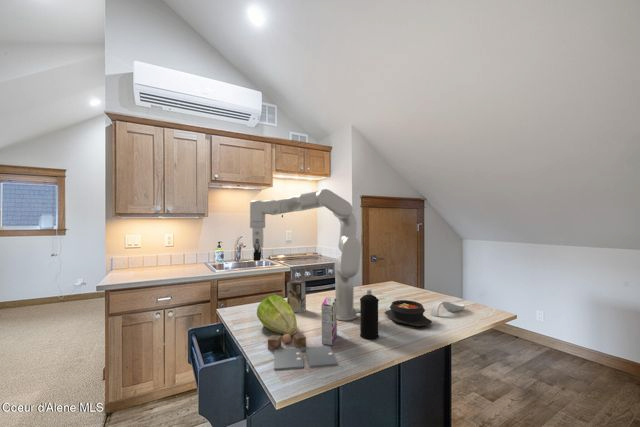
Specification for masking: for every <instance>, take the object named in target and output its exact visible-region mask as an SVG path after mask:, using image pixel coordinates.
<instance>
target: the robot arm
mask: <svg viewBox="0 0 640 427" xmlns="http://www.w3.org/2000/svg"><path fill="white" fill-rule="evenodd" d="M319 208H326V209H327V210H329V211H330V212H332V214H333V215H334V217H336V218H337V219H338V221H339V223H340V225H339V226H340V227H339V228H340V229H339V230H340V231H339V239H338V246H337V247H338V249H339V251H340V252H341V256H339V257H337V258H336V260H335V262H334V275H335V278H334V279H335V280H334V281H335V284H334V285H335V286H334V288H335V289H334V290H335V292H334V293H335V297H334V298H336V308H337V321H343V322H344V321H345V322H347V321H349V322H350V321H353V320H355V319H357V318H358V317H357V316H358V315H357V314H360V308H355V307H354V306H355V303H354V301H355V300H354V299H355V298H354V297H355V296H354V295H355V294H354V292H355V291H354V288H355V286H354V284H355V282H354V277H356V276H357V274H358V272H359V268H360V261H361V254H362V253H361V252H362V247H361V246H362V245H361V242H360V240H359V239H358V238H357V227H358V226H357V224H358V223H357V219H356V217H355V215H354V213H353V212H354V210H353V206H352V204H351V203H350V202H349V201H348V200H346V199H344V198H343V197H342V196H340V195H338V194H336V193H335V192H333V191H331V190H330V189H327V188H323V189H321V190H316V191H311V192H307V193H305V192H304V193H300V194H297V195H296V194H295V195H294V196H291V197H287V198H283V199H278V200H275V199H270V200H260V199H259V200H258V199H257V200H255V199H254V200H251V201H250V203H249V229H251V230H252V232H251V233H252V235H251V236H252V239H251V240H252V248H253V261H254V262H258V261H261V259H262V249H263V248H264V229H265V228H266V215H271V216H276V215H277V216H278V215H282V214H283V215H284V214H287V213H292V212H303V211H308V210H313V209H319Z"/></svg>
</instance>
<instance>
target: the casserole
mask: <svg viewBox="0 0 640 427" xmlns="http://www.w3.org/2000/svg"><path fill="white" fill-rule="evenodd" d="M425 311H426V309H425V308H424V305H423V304H422V303H420V302H417V301H413V300H408V299H398V300H397V299H396V300H394V301H392V302H391V305H390V306H389V309H388V310H386V311H384V312H383V313H384V314H385V315H386V316H387V317H388V318H389V319H390V320H392V321H394V322H397V323H399V324H403V325H408V326H409V325H410V326H415V327H425V326H429V325H431V324H432V323H433V320H431V319H430V318H428V317H426V316H425V314H424V313H425Z"/></svg>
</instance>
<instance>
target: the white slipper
mask: <svg viewBox="0 0 640 427" xmlns="http://www.w3.org/2000/svg"><path fill="white" fill-rule="evenodd" d="M441 305H442V306H443V308H445V310H446V311H447V312H450V311H451V312H452V313H458V312H461V311H463V310H464V309H465V308H466V305H465V304H463V303H461V302H455V301H449V300H448V301H447V300H446V301H445V300H441V299H438V300H437V301H435V302H434V303H433V305H432V307H431V309H430V315H431V316H433V317H437V318H439V316H440V315H439V314H440V313H439V309H440V307H441Z"/></svg>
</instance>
